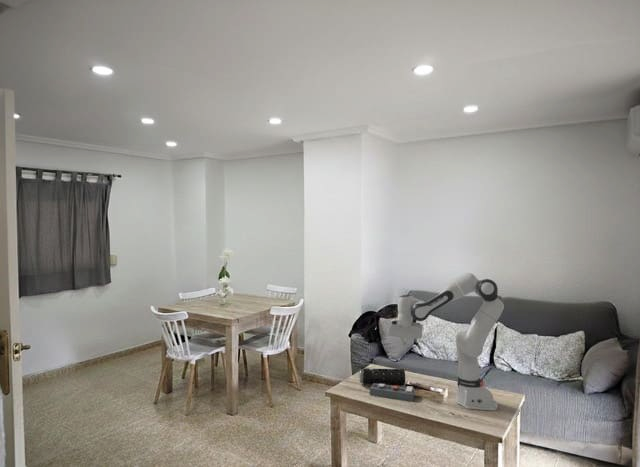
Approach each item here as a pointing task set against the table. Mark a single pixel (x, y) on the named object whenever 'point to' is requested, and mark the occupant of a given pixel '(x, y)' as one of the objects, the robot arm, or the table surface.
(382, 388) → the strip housing
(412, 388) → the rocker
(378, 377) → the muzzle brake
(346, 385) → the table surface
